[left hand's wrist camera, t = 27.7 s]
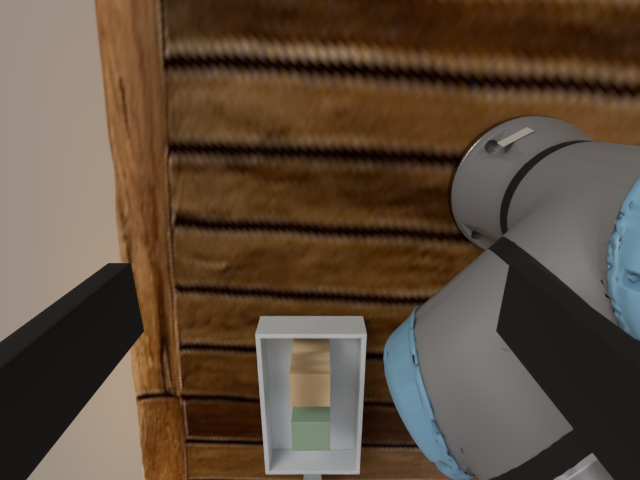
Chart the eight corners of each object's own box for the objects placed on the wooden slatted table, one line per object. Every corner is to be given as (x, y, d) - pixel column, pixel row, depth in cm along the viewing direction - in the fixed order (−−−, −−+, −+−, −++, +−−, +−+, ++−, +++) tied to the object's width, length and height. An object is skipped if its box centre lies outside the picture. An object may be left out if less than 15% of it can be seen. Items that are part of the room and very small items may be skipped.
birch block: (329, 331, 46) (330, 374, 39) (328, 360, 48) (330, 406, 40) (294, 331, 46) (289, 374, 39) (295, 360, 48) (290, 406, 40)
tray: (260, 315, 46) (245, 368, 37) (363, 315, 46) (374, 368, 37) (272, 490, 57) (262, 565, 48) (354, 490, 57) (361, 565, 48)
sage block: (328, 373, 49) (330, 422, 41) (328, 399, 50) (329, 451, 43) (295, 373, 49) (291, 422, 41) (296, 399, 50) (292, 451, 43)
